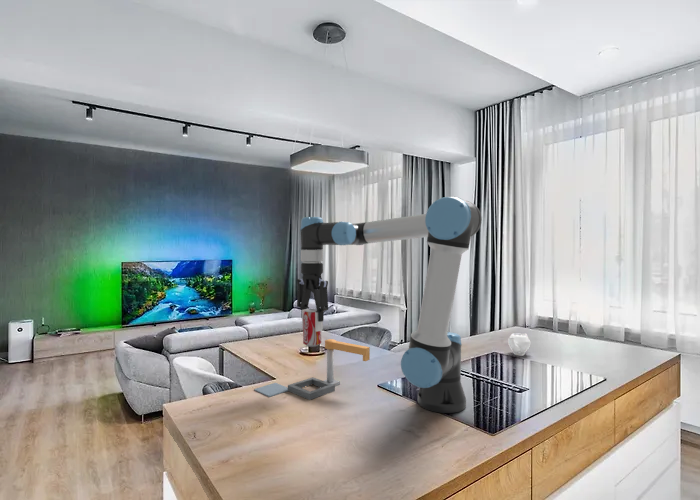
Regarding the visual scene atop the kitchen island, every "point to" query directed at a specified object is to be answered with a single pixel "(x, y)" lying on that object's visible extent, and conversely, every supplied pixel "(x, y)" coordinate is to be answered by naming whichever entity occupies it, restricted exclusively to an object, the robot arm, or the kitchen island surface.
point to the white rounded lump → (519, 343)
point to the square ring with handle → (317, 382)
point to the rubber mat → (272, 389)
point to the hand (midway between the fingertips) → (312, 329)
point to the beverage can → (310, 329)
